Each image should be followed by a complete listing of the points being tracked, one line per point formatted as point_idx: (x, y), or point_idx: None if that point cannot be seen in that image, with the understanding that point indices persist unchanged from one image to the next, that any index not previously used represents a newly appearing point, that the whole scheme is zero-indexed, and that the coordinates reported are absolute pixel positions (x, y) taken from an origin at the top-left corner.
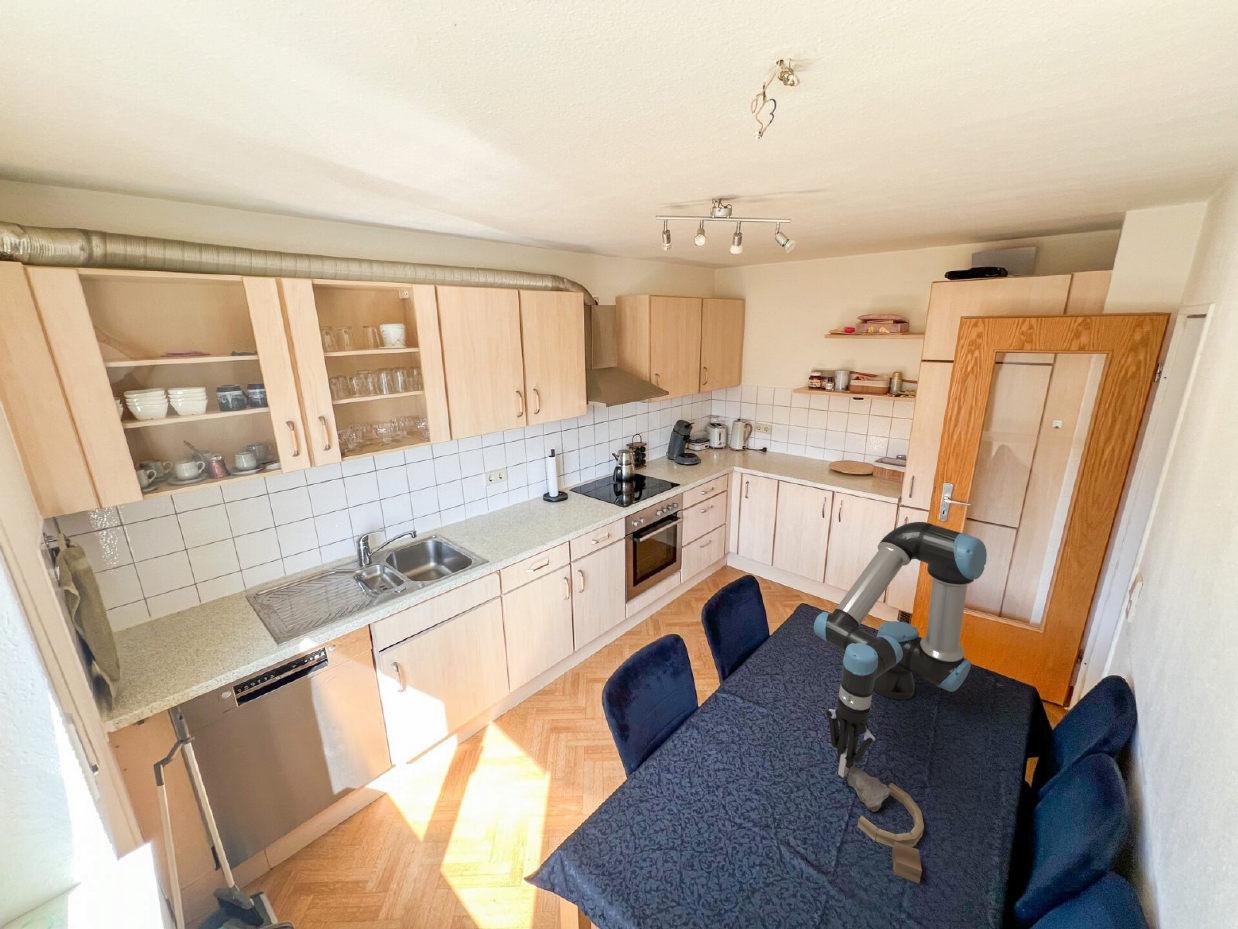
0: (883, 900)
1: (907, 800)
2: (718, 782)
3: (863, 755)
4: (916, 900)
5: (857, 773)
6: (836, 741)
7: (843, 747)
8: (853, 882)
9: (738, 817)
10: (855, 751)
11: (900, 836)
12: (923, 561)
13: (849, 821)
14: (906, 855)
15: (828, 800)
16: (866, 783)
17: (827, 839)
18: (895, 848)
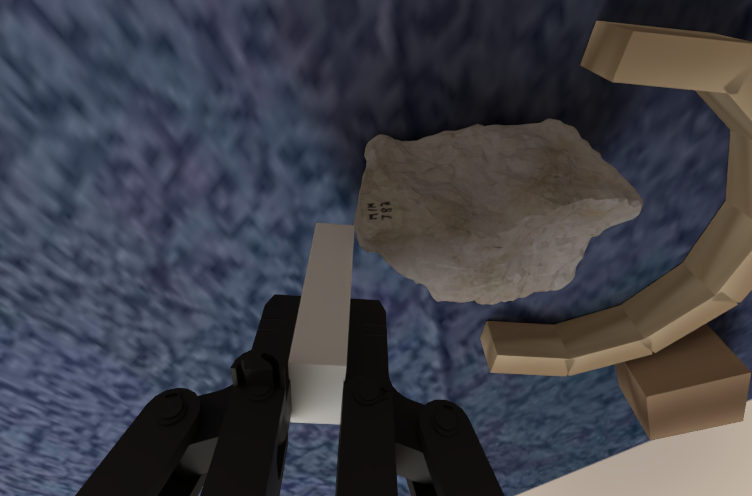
0: (591, 440)
1: (744, 110)
2: (82, 466)
3: (486, 465)
4: None
5: (419, 263)
6: (177, 468)
7: (277, 483)
8: (514, 449)
9: None
10: (392, 456)
11: (666, 335)
12: None
13: (448, 337)
14: (692, 411)
15: None
16: (492, 283)
17: None
18: (650, 414)
